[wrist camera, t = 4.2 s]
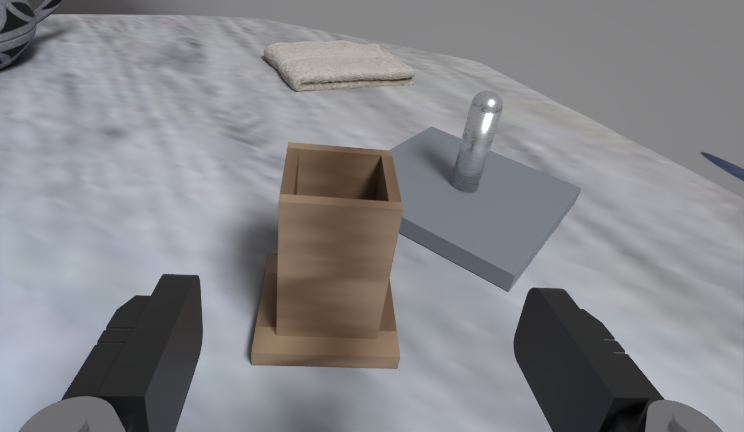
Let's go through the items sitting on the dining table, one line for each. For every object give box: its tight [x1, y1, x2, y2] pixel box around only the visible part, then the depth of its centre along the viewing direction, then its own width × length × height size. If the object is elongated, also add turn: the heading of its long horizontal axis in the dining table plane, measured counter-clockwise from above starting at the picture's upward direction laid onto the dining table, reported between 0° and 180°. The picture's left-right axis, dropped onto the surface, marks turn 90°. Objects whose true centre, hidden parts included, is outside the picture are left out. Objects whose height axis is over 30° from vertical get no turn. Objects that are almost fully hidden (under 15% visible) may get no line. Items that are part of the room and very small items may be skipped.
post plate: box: [389, 91, 581, 292], centre depth 39 cm, size 16×16×10 cm
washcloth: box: [264, 40, 415, 92], centre depth 64 cm, size 12×18×3 cm, turn 117°
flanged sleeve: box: [251, 142, 403, 368], centre depth 27 cm, size 8×8×10 cm
